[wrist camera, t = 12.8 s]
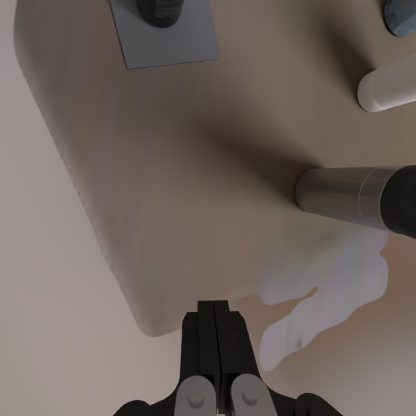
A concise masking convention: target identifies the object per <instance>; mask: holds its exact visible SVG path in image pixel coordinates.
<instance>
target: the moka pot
mask: <svg viewBox="0 0 416 416" xmlns="http://www.w3.org/2000/svg"><path fill="white" fill-rule="evenodd" d="M384 15H385V21H386V23H387V25H388V27H389V29H390V30H391V32H392V33H394V34H395V35H397V36H406V35H408V34H410V33H412V32H413V31H415V30H416V0H387V1H386V3H385V10H384Z"/></svg>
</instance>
